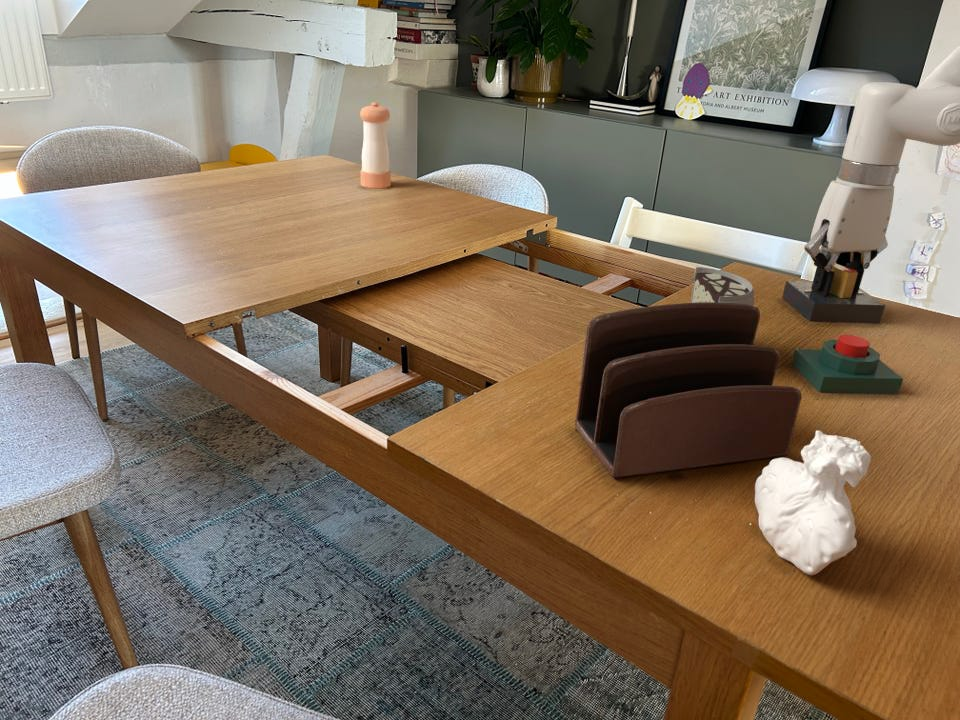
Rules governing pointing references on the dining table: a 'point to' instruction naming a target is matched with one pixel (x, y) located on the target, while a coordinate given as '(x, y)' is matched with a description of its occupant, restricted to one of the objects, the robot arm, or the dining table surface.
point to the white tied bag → (811, 502)
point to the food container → (721, 287)
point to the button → (852, 346)
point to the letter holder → (681, 389)
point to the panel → (832, 305)
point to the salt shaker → (375, 147)
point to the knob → (843, 281)
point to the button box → (846, 371)
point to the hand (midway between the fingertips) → (834, 290)
